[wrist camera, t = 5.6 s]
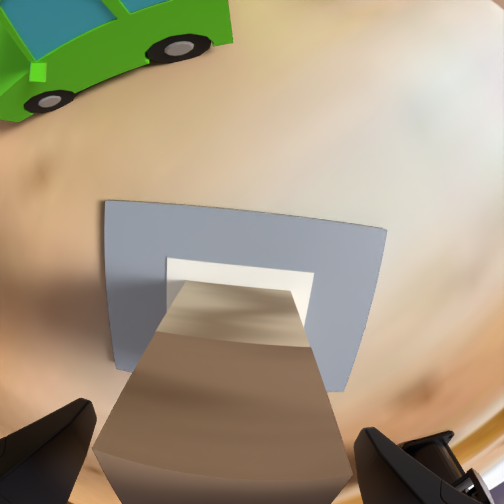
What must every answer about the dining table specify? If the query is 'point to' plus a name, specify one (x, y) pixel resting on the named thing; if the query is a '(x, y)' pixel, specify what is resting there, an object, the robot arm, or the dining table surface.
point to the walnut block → (223, 427)
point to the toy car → (94, 44)
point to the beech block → (235, 314)
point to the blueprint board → (240, 272)
